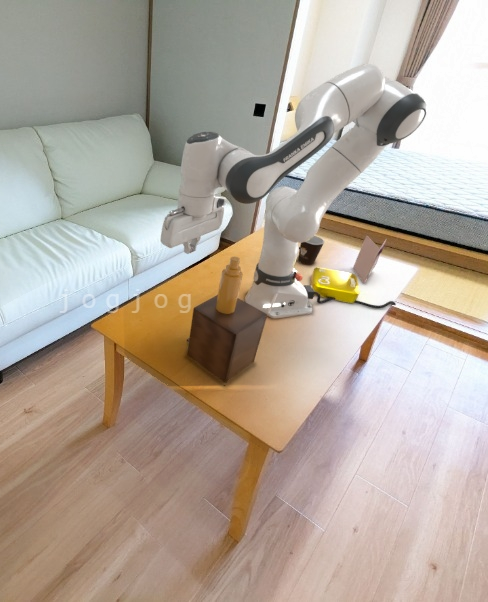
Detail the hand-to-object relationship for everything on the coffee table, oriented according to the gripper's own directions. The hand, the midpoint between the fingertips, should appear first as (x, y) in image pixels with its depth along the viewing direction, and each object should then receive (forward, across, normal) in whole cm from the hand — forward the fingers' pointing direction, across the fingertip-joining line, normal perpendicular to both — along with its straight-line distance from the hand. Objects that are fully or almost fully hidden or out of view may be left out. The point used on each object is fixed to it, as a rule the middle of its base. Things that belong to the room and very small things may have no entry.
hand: (189, 251), depth 101 cm
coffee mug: (+29, +76, 0) cm, 82 cm away
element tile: (+29, +63, -18) cm, 72 cm away
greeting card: (+29, +82, -20) cm, 89 cm away
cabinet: (+29, 0, -16) cm, 33 cm away
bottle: (+11, 0, -14) cm, 18 cm away
